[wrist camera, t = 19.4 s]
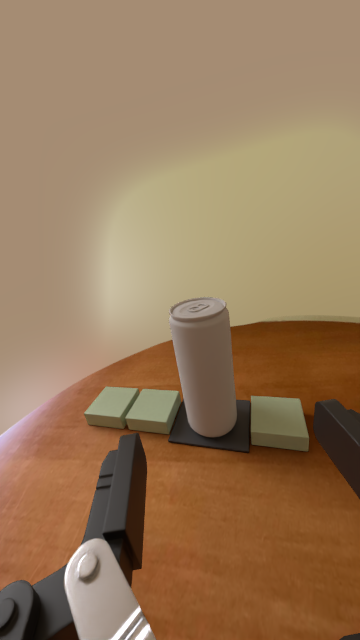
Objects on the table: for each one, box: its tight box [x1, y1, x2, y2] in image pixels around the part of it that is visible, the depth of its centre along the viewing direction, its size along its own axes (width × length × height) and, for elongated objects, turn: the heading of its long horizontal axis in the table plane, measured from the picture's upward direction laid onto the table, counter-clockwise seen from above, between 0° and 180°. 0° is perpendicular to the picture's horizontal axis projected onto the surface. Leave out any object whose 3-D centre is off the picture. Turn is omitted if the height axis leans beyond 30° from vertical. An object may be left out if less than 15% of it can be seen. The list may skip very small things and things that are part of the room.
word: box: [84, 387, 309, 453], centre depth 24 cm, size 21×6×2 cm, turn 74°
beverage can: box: [169, 297, 237, 438], centre depth 21 cm, size 5×5×12 cm
